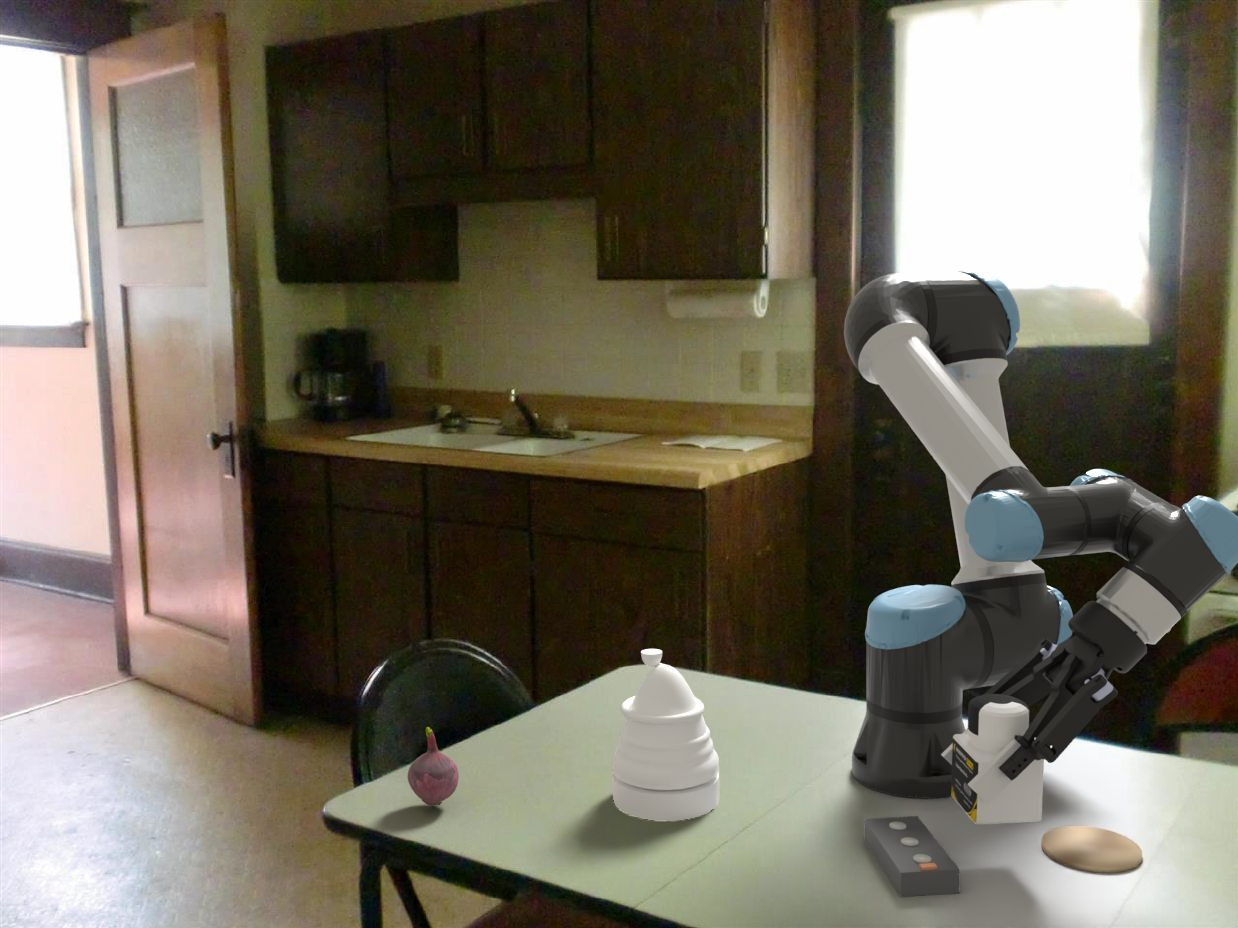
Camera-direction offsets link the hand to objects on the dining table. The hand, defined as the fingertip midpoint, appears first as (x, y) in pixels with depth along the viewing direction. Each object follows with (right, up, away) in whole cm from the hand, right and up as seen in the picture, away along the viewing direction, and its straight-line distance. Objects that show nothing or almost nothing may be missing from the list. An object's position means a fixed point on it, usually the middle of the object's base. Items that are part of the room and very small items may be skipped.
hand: (963, 778), depth 125 cm
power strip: (-5, -9, +1) cm, 11 cm away
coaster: (+15, -9, +4) cm, 17 cm away
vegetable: (-58, -9, +19) cm, 62 cm away
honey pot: (-30, -8, +20) cm, 37 cm away
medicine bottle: (+4, -4, +1) cm, 5 cm away
